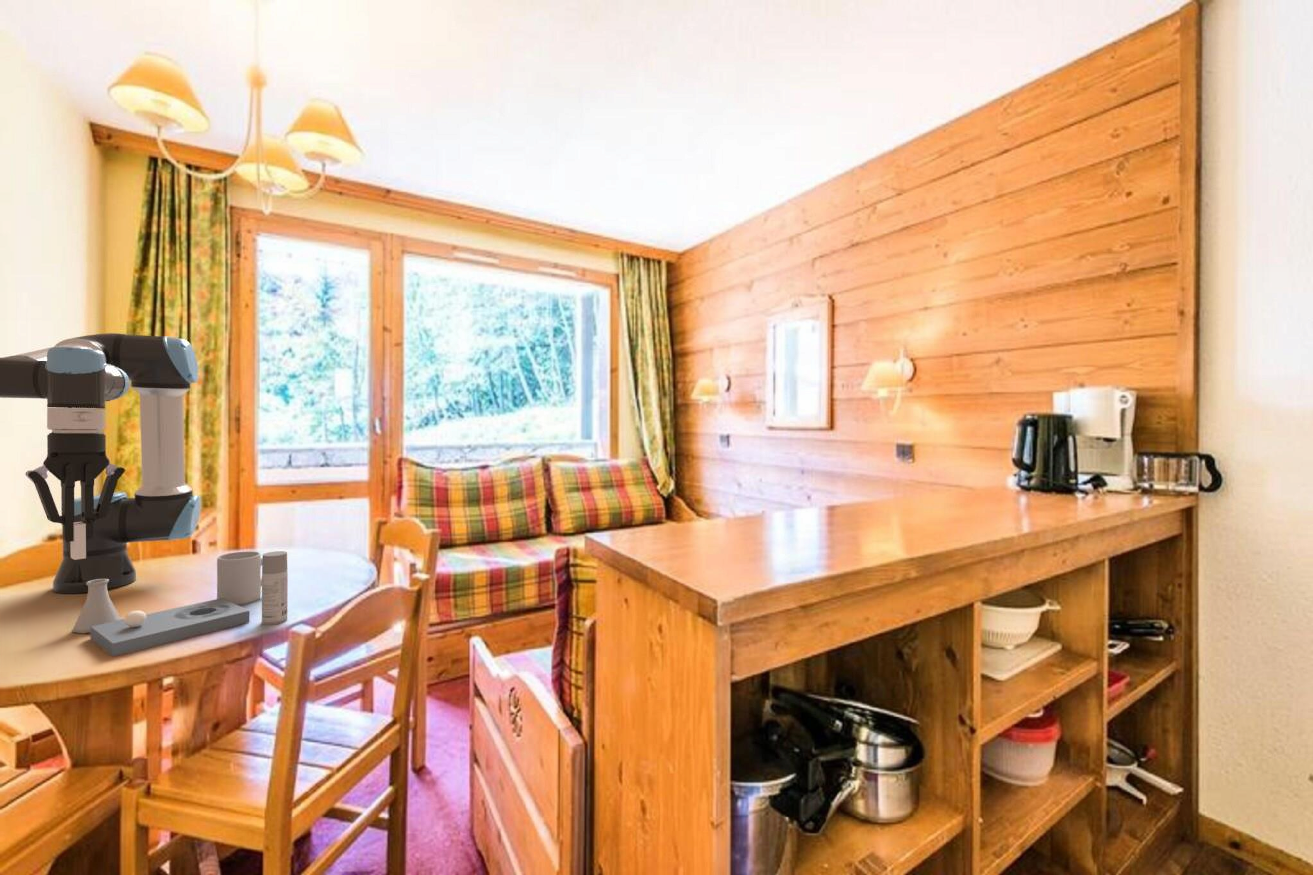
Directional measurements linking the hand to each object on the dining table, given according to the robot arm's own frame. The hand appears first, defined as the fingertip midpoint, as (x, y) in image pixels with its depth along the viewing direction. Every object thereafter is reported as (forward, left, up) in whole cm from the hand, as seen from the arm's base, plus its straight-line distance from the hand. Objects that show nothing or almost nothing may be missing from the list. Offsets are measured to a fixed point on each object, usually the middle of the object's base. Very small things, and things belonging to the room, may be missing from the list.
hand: (78, 557), depth 104 cm
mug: (-11, +32, -18) cm, 38 cm away
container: (+10, +29, -18) cm, 36 cm away
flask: (-14, +6, -18) cm, 23 cm away
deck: (0, +14, -18) cm, 23 cm away
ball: (0, +8, -14) cm, 16 cm away
